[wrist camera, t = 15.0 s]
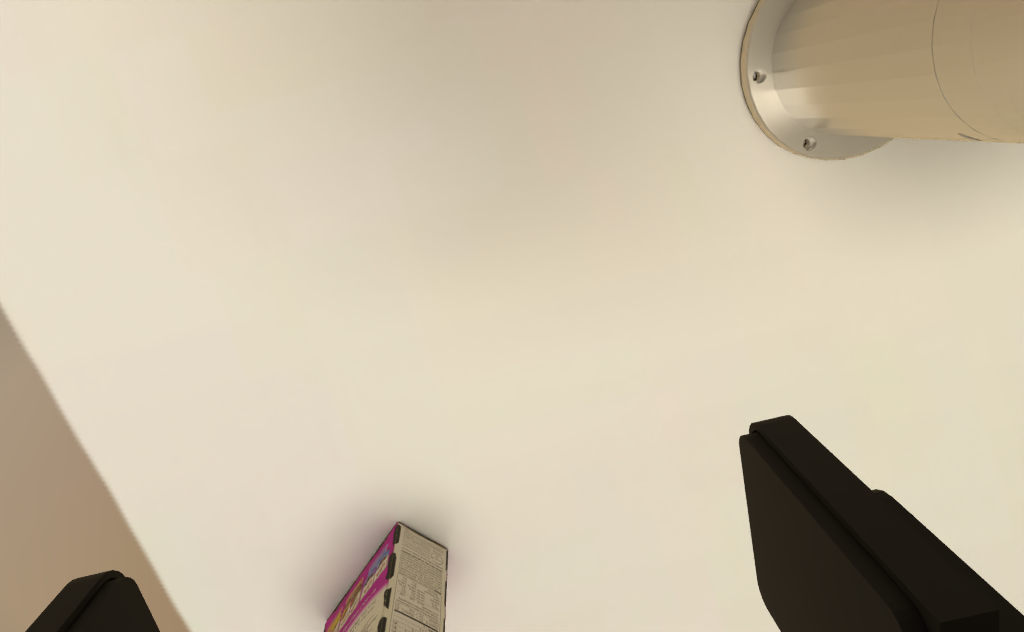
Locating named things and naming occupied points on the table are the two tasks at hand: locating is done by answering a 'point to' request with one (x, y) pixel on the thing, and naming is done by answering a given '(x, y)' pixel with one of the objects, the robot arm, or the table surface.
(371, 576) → the candy bar box
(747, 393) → the table surface
